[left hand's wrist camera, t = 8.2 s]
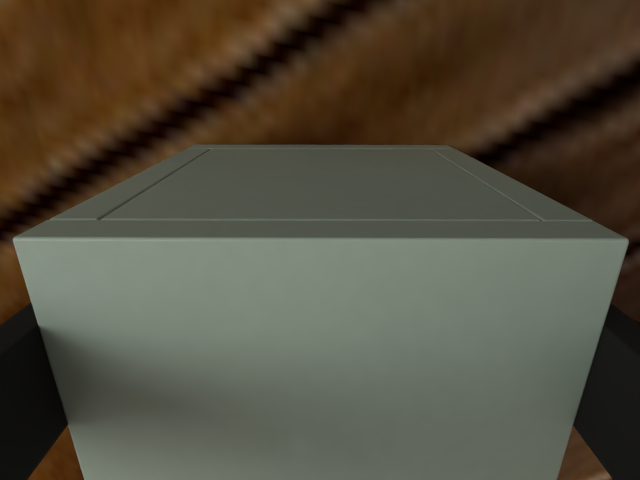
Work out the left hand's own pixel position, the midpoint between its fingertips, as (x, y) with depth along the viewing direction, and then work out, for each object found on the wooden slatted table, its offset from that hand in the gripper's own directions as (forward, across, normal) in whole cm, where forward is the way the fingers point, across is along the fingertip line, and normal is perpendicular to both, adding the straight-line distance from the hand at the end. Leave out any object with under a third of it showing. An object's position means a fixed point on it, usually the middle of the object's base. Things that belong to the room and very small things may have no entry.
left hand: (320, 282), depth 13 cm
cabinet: (+7, 0, -7) cm, 10 cm away
